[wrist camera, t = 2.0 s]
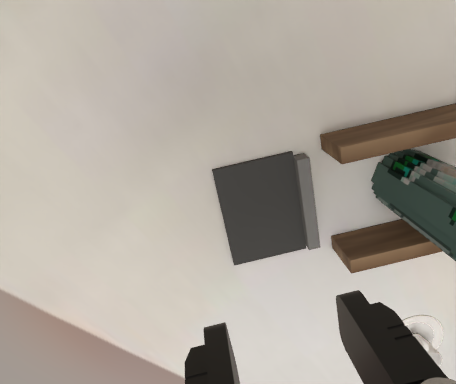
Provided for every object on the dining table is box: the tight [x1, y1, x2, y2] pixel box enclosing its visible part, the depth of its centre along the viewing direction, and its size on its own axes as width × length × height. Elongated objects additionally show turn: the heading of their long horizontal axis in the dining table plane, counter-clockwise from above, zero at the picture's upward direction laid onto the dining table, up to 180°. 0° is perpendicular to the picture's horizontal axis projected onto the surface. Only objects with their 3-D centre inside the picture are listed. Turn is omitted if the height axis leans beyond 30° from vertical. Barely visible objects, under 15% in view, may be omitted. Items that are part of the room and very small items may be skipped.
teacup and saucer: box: [403, 315, 444, 367], centre depth 47 cm, size 9×8×4 cm
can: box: [371, 149, 456, 261], centre depth 32 cm, size 6×6×15 cm
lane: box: [320, 104, 456, 273], centre depth 37 cm, size 13×20×5 cm, turn 102°
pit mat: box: [212, 151, 320, 265], centre depth 38 cm, size 11×9×2 cm
